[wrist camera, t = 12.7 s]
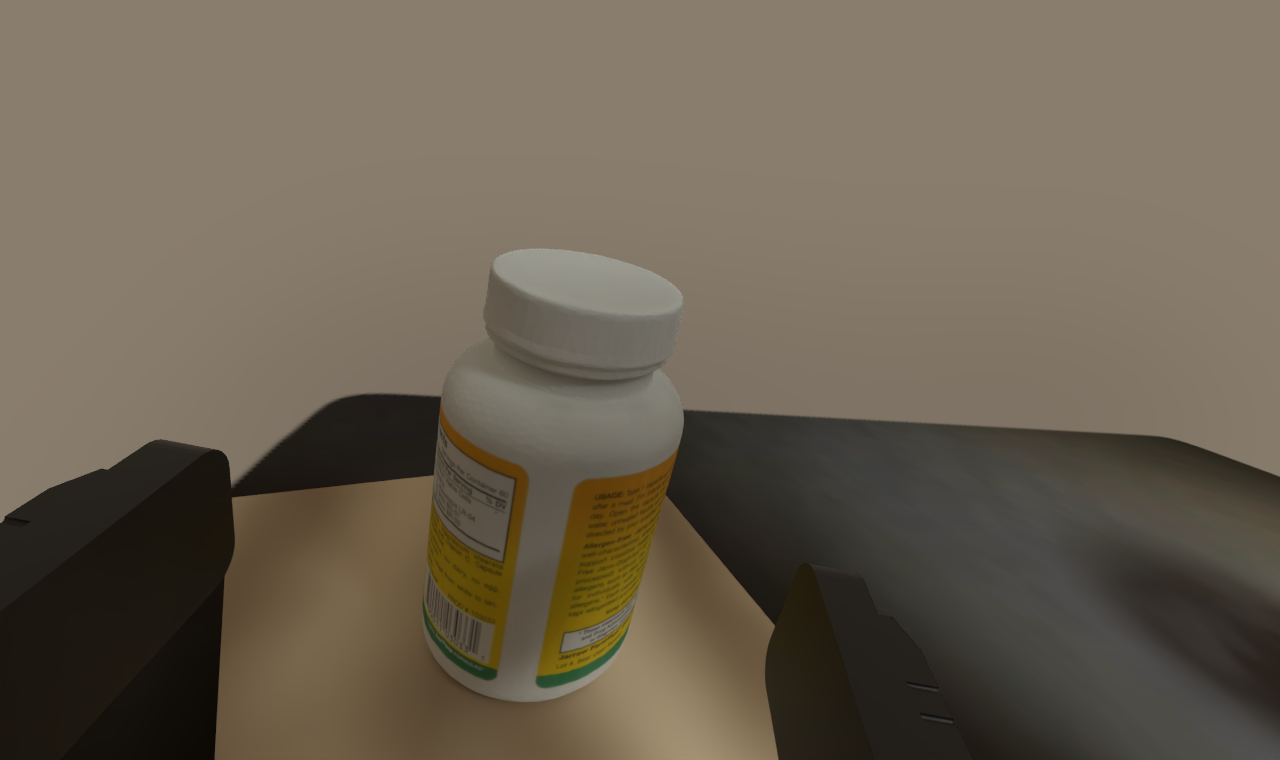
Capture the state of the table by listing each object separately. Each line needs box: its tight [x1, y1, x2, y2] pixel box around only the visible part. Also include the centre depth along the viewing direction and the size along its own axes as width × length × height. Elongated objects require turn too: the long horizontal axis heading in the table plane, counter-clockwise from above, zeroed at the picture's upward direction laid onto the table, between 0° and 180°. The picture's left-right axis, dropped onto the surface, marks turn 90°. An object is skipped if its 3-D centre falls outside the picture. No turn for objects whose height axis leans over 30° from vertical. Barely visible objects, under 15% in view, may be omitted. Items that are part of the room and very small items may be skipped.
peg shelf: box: [215, 476, 778, 760], centre depth 18 cm, size 14×14×5 cm
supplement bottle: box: [422, 249, 684, 702], centre depth 15 cm, size 6×6×10 cm
